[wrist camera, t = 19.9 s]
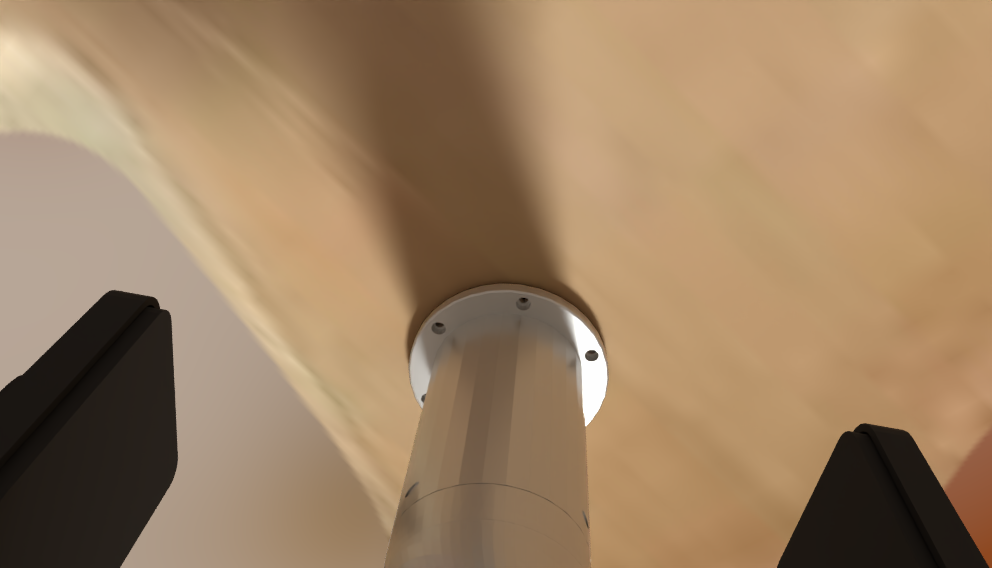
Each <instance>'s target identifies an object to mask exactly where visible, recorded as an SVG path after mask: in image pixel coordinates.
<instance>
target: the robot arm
mask: <svg viewBox="0 0 992 568" xmlns="http://www.w3.org/2000/svg"><path fill="white" fill-rule="evenodd" d="M521 298H526V299H525V300H523V299H521ZM438 322H440V323H441V324H440V323H438ZM171 324H172V323H171V315H170V313H169V312H168V311H167V310H163V309H160V306H159V303H158V301H157V299H156V298H154V297H150V296H144V295H139V294H133V293H127V292H122V291H116V290H112V291H109V292H108V293H106V294H105V295H103V296H102V297H101V298H100V299H99V301H98V302H96V303H95V304H94V305H93V306H92V307H91V308H90V309H89V310H88V311H87V312H86V313H85V314H84V315H83V316H82V317H81V318H80V319H79V320H78V321H77V322H76V323H75V324H74V325H73V326H72V327H71V328H70V329H69V330H68V331H67V332H66V333H65V334H64V335H63V336H62V337H61V338H60V339H59V340H58V341H57V342H56V343H55V344H54V345H53V346H52V347H51V348H50V349H49V350H48V351H47V352H45V354H44V355H42V356H41V357H40V358H39V359H38V360H37V361H36V362H35V363H34V364H33V365H32V366H31V367H30V368H29V369H28V370H27V371H26V372H25V373H24V374H23V375H21V376H18V377H17V378H16V379H14V380H13V381H11V382H10V383H9V384H8V385H7V386H6V387H5V388H3V389H2V390H1V391H0V568H120V566H121V565H122V563H123V562H124V560H125V558H126V557H127V555H128V554H129V552H130V550H131V548H132V547H133V545H134V544H135V542H136V541H137V539H138V537H139V535H140V534H141V532H142V531H143V529H144V527H145V526H146V524H147V523H148V521H149V519H150V517H151V516H152V514H153V513H154V511H155V509H156V508H157V506H158V505H159V503H160V501H161V500H162V498H163V496H164V495H165V493H166V491H167V489H168V488H169V487H170V484H171V483H172V481H173V478H174V475H175V472H176V468H177V461H178V451H177V432H176V431H177V430H176V408H175V388H174V366H173V344H172V325H171ZM409 376H410V384H411V387H412V390H413V393H414V396H415V398H416V400H417V402H418V404H419V405H420V407H421V409H422V412H421V416H420V420H419V424H418V428H417V432H416V436H415V440H414V445H413V449H412V453H411V457H410V461H409V465H408V469H407V473H406V477H405V481H404V485H403V489H402V493H401V497H400V501H399V505H398V509H397V513H396V517H395V521H394V525H393V529H392V533H391V537H390V541H389V545H388V549H387V553H386V558H385V564H384V568H591V548H590V523H589V498H588V474H587V449H586V426H587V425H588V424H589V423H590V422H591V421H592V419H593V418H594V417H595V415H596V414H597V412H598V411H599V410H600V408H601V405H602V403H603V400H604V398H605V396H606V391H607V385H608V379H609V378H608V362H607V357H606V351H605V347H604V345H603V343H602V340H601V338H600V336H599V333H598V332H597V330H596V329H595V328H594V326H593V325H592V323H591V322H590V321H589V319H588V318H587V317H586V316H585V315H584V314H583V313H581V312H580V311H579V310H578V309H577V308H576V307H575V306H574V305H572V304H570V303H569V302H567V301H566V300H564V299H562V298H561V297H559V296H557V295H555V294H552V293H550V292H547V291H545V290H542V289H539V288H535V287H530V286H526V285H521V284H503V283H501V284H492V285H484V286H479V287H476V288H472V289H469V290H466V291H463V292H461V293H459V294H457V295H455V296H453V297H451V298H449V299H447V300H446V301H445V302H443V303H442V304H441V305H439V306H438V307H437V308H436V309H434V310H433V311H432V312H431V314H430V315H429V316H428V317H427V318H426V320H425V321H424V322H423V323H422V325H421V327H420V329H419V331H418V333H417V335H416V337H415V340H414V343H413V346H412V349H411V353H410V361H409ZM777 568H989V566H988V565H987V563H986V561H985V560H984V558H983V556H982V555H981V553H980V551H979V549H978V548H977V546H976V544H975V543H974V541H973V539H972V538H971V536H970V534H969V532H968V531H967V529H966V527H965V526H964V524H963V523H962V521H961V519H960V518H959V516H958V514H957V512H956V511H955V509H954V507H953V506H952V504H951V502H950V500H949V499H948V497H947V495H946V494H945V492H944V490H943V488H942V487H941V485H940V483H939V482H938V480H937V478H936V477H935V475H934V473H933V472H932V470H931V468H930V466H929V465H928V463H927V461H926V460H925V458H924V456H923V455H922V453H921V451H920V450H919V448H918V446H917V444H916V443H915V441H914V439H913V438H912V436H911V435H910V434H909V433H908V432H906V431H904V430H900V429H894V428H888V427H883V426H877V425H871V424H866V423H865V424H860V425H859V426H858V427H856V428H855V430H854V431H853V432H851V431H847V432H845V433H843V434H842V435H841V437H840V439H839V440H838V442H837V444H836V447H835V449H834V451H833V453H832V455H831V457H830V459H829V461H828V463H827V465H826V467H825V469H824V471H823V473H822V475H821V477H820V479H819V481H818V483H817V485H816V487H815V489H814V492H813V494H812V496H811V498H810V500H809V502H808V504H807V506H806V508H805V510H804V512H803V514H802V516H801V518H800V520H799V522H798V524H797V526H796V528H795V530H794V532H793V534H792V536H791V539H790V541H789V543H788V545H787V547H786V549H785V551H784V553H783V555H782V557H781V559H780V561H779V564H778V566H777Z"/></svg>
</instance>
